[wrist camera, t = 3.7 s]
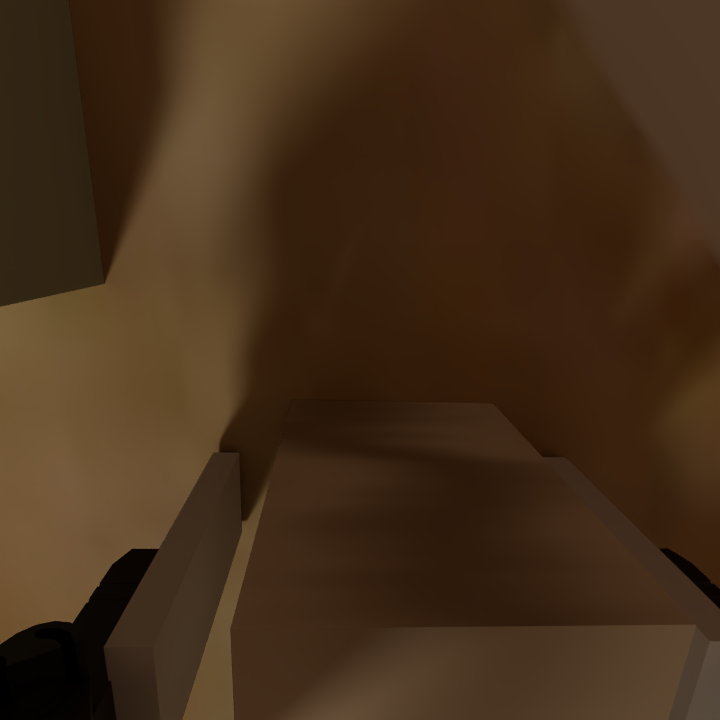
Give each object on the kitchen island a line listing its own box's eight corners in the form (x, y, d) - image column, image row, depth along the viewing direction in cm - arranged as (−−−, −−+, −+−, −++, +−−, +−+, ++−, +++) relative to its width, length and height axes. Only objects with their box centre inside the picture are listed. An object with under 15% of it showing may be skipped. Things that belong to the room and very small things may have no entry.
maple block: (291, 570, 15) (243, 932, 7) (291, 398, 13) (230, 629, 6) (471, 570, 15) (609, 915, 8) (492, 402, 14) (696, 624, 6)
